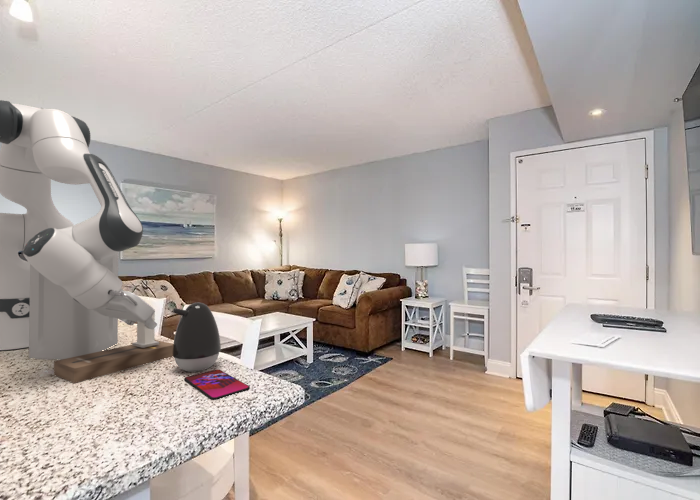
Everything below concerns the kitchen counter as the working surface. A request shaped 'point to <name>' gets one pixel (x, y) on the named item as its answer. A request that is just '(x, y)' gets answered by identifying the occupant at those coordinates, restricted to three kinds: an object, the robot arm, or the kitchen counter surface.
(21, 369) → the kitchen counter surface
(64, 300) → the grey box
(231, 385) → the smartphone
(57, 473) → the kitchen counter surface
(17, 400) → the kitchen counter surface
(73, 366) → the board
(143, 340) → the fader tab
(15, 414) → the kitchen counter surface
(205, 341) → the pump dispenser
